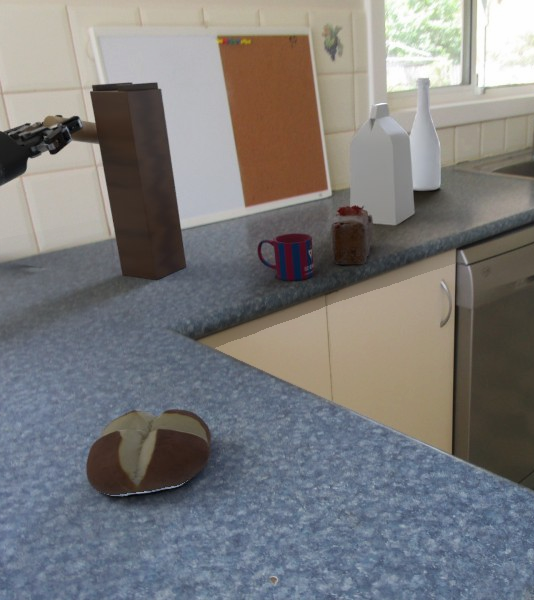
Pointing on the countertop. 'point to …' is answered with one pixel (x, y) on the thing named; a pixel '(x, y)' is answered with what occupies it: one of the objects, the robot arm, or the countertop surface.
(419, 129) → the wine bottle
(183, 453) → the bread
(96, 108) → the stand
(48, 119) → the rolling pin
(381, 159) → the milk
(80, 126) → the robot arm
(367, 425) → the countertop surface
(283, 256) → the mug
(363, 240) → the food item
